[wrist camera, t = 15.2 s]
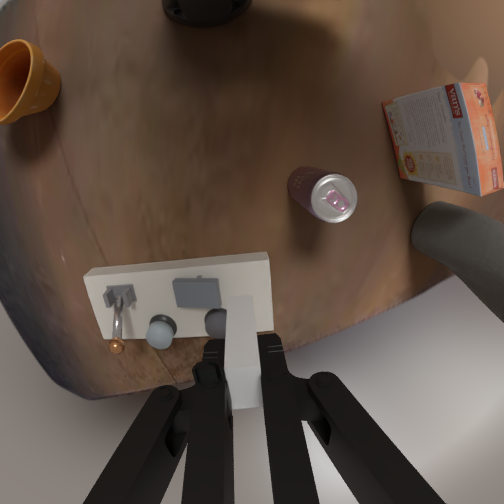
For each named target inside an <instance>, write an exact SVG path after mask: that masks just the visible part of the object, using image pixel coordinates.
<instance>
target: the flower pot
mask: <svg viewBox="0 0 504 504" xmlns="http://www.w3.org/2000/svg"><path fill="white" fill-rule="evenodd" d="M60 85H61V77H60V74H59V73H58V71H57V70H56V69H55V68H54V67H53V66H52V65H51V64H50V63H49V62H47V61H46V60H45V59H44V56H43V53H42V51H41V50H40V49H39V48H38V47H37V46H35V45H34V44H32V43H30V42H27V41H25V40H21V39H18V40H13V41H11V42H9V43H7V44H5V45H4V46H3V47H1V48H0V125H5V124H10V123H13V122H15V121H16V120H18V119H19V118H20V117H22V116H26V115H30V114H34V113H38V112H41V111H44V110H46V109H47V108H49V107H50V106H51V105H52V104H53V102H54V101H55V99H56V98H57V96H58V94H59V91H60Z"/></svg>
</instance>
